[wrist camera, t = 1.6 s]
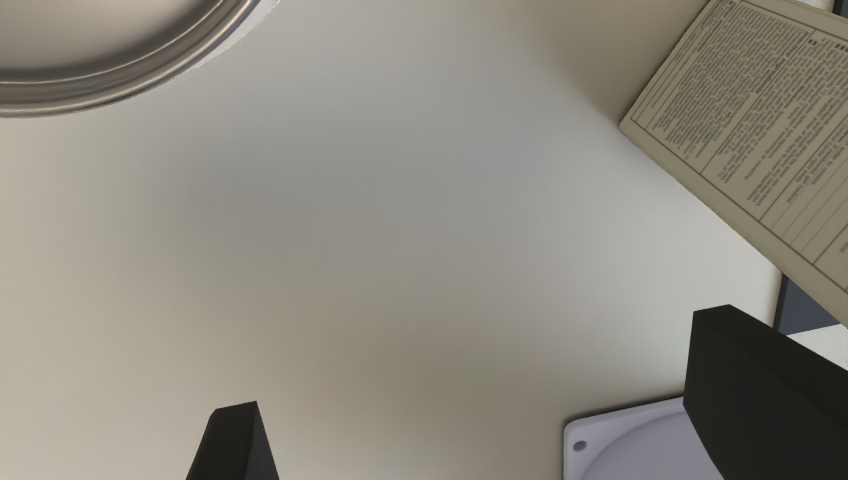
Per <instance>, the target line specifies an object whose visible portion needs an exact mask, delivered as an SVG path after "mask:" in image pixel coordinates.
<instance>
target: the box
mask: <svg viewBox="0 0 848 480" xmlns="http://www.w3.org/2000/svg"><path fill="white" fill-rule="evenodd" d="M619 130H620V131H621V132H622V133H623V134H624V135H625V136H626V137H627V138H628V139H629V140H630V141H631V142H632V143H634V144H635V145H636V146H637V147H638V148H639V149H640V150H642V151H643V152H644V153H645V154H646V155H647V156H648V157H650V158H651V159H652V160H653V161H654V162H655V163H657V164H658V165H659V166H660V167H662V168H663V169H664V170H665V171H666V172H668V173H669V174H670V175H671V176H672V177H673V178H675V179H676V180H677V181H678V182H679V183H680V184H682V185H683V186H684V187H685V188H686V189H687V190H689V191H690V192H691V193H692V194H693V195H694V196H696V197H697V198H698V199H699V200H700V201H702V202H703V203H704V204H705V205H706V206H707V207H709V208H710V209H711V210H712V211H713V212H714V213H716V214H717V215H718V216H719V217H720V218H721V219H722V220H723V221H724V222H725V223H727V224H728V225H729V226H730V227H731V228H732V229H733V230H735V231H736V232H737V233H738V234H739V235H740V236H741V237H743V238H744V239H745V240H746V241H747V242H748V243H750V244H751V245H752V246H753V247H754V248H755V249H756V250H758V251H759V252H760V253H761V254H762V255H763V256H765V257H766V258H767V259H768V260H769V261H770V262H771V263H773V264H774V265H775V266H776V267H777V268H778V269H779V270H781V271H782V272H783V273H784V274H785V275H786V276H788V277H789V278H790V279H791V280H792V281H793V282H794V283H796V284H797V285H798V286H799V287H800V288H801V289H802V290H804V291H805V292H806V293H807V294H808V295H809V296H811V297H812V298H813V299H814V300H815V301H816V302H817V303H819V304H820V305H821V306H822V307H823V308H824V309H825V310H827V311H828V312H829V313H830V314H831V315H832V316H833V317H835V318H836V319H837V320H838V321H839V322H840V323H841V324H842V325H844V326H845V327H846V328H847V329H848V19H847V18H844V17H841V16H838V15H835V14H833V13H830V12H827V11H824V10H822V9H819V8H816V7H813V6H811V5H808V4H806V3H803V2H800V1H797V0H710V2H709V3H708V4H707V5H706V7H705V8H704V9H703V11H702V12H701V13H700V14H699V16H698V17H697V18H696V19H695V21H694V22H693V23H692V25H691V26H690V27H689V29H688V30H687V31H686V33H685V34H684V35H683V37H682V38H681V39H680V41H679V42H678V44H677V45H676V47H675V48H674V49H673V51H672V52H671V54H670V55H669V56H668V58H667V59H666V60H665V62H664V63H663V64H662V66H661V67H660V68H659V70H658V71H657V72H656V73H655V75H654V76H653V78H652V79H651V80H650V82H649V83H648V84H647V86H646V87H645V89H644V90H643V91H642V93H641V94H640V96H639V97H638V99H637V100H636V102H635V103H634V105H633V106H632V108H631V109H630V110H629V112H628V113H627V114H626V116H625V117H624V119H623V120H622V121H621V123H620V124H619Z"/></svg>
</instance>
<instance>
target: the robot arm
mask: <svg viewBox="0 0 848 480" xmlns="http://www.w3.org/2000/svg"><path fill="white" fill-rule="evenodd" d="M579 441H580V442H579ZM576 442H578V443H576ZM186 480H279V477H278V473H277V470H276V466H275V463H274V459H273V456H272V453H271V449H270V446H269V442H268V439H267V435H266V432H265V429H264V425H263V422H262V418H261V415H260V411H259V408H258V405H257V401H253V402H248V403H243V404H238V405H233V406H229V407H224V408H219V409H215V411H214V412H213V413H212V414H211V416H210V418H209V420H208V423H207V426H206V429H205V432H204V435H203V437H202V440H201V443H200V445H199V448H198V451H197V453H196V456H195V458H194V461H193V463H192V466H191V468H190V470H189V473H188V475H187V477H186ZM564 480H848V371H847V370H845V369H843V368H842V367H840V366H838V365H836V364H834V363H833V362H831V361H829V360H827V359H825V358H824V357H822V356H820V355H818V354H817V353H815V352H813V351H811V350H810V349H808V348H806V347H804V346H803V345H801V344H799V343H797V342H796V341H794V340H792V339H791V338H789V337H787V336H785V335H784V334H782V333H780V332H778V331H777V330H775V329H773V328H771V327H770V326H768V325H766V324H765V323H763V322H761V321H759V320H757V319H756V318H754V317H752V316H750V315H749V314H747V313H745V312H743V311H741V310H739V309H737V308H736V307H734V306H732V305H730V304H728V305H723V306H718V307H713V308H708V309H703V310H698V311H694V313H693V321H692V330H691V338H690V347H689V355H688V363H687V372H686V380H685V389H684V396H683V397H679V398H674V399H670V400H665V401H660V402H656V403H651V404H647V405H642V406H637V407H633V408H628V409H624V410H619V411H614V412H610V413H605V414H601V415H596V416H591V417H587V418H582V419H578V420H574V421H572V422H570V423H569V424H568V425H567V426H566V427H565V429H564Z"/></svg>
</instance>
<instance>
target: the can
mask: <svg viewBox="0 0 848 480" xmlns="http://www.w3.org/2000/svg"><path fill="white" fill-rule="evenodd" d="M279 2H280V0H0V118H38V117H49V116H58V115H65V114H72V113H77V112H83V111H88V110H92V109H96V108H101V107H104V106H108V105H111V104H115V103H118V102H121V101H123V100H126V99H129V98H132V97H134V96H137V95H140V94H142V93H144V92H147V91H149V90H151V89H153V88H155V87H158V86H159V85H161V84H163V83H165V82H167V81H169V80H171V79H174V78H176V77H179V76H181V75H183V74H185V73H187V72H190V71H192V70H194V69H196V68H197V67H199V66H201V65H203V64H205V63H207V62H208V61H210V60H212V59H214V58H215V57H217V56H218V55H220V54H221V53H223V52H224V51H226V50H227V49H229V48H230V47H231V46H233V45H234V44H235V43H237V42H238V41H239V40H241V39H242V38H243V37H244V36H246V35H247V34H248V33H249V32H250V31H251V30H252V29H254V28H255V27H256V26H257V25H258V24H259V23H260V22H261V21H262V20H263V19H264V18H265V17H266V16H267V15H268V14H269V13H270V12H271V11H272V10H273V8H274V7H275V6H276V5H277V4H278V3H279Z"/></svg>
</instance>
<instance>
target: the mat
mask: <svg viewBox="0 0 848 480" xmlns="http://www.w3.org/2000/svg"><path fill="white" fill-rule="evenodd" d="M834 14H835V15H838V16H841V17H844V18H847V19H848V0H836V4H835V9H834ZM837 324H841V323H840V322H839V321H838V320H837V319H836V318H835V317H833V316H832V315H831V314H830V313H829V312H828V311H827V310H825V309H824V308H823V307H822V306H821V305H820V304H819V303H817V302H816V301H815V300H814V299H813V298H812V297H811V296H809V295H808V294H807V293H806V292H805V291H804V290H802V289H801V288H800V287H799V286H798V285H797V284H796V283H794V282H793V281H792V280H791V279H790V278H789V277H788V276H786V275H785V274H784V276H783V282H782V287H781V292H780V297H779V303H778V308H777V313H776V318H775V323H774V329H775V330H777V331H778V332H780V333H782V334H784V335H790V334H794V333H799V332H804V331H809V330H813V329H818V328H823V327H828V326H832V325H837Z"/></svg>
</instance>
